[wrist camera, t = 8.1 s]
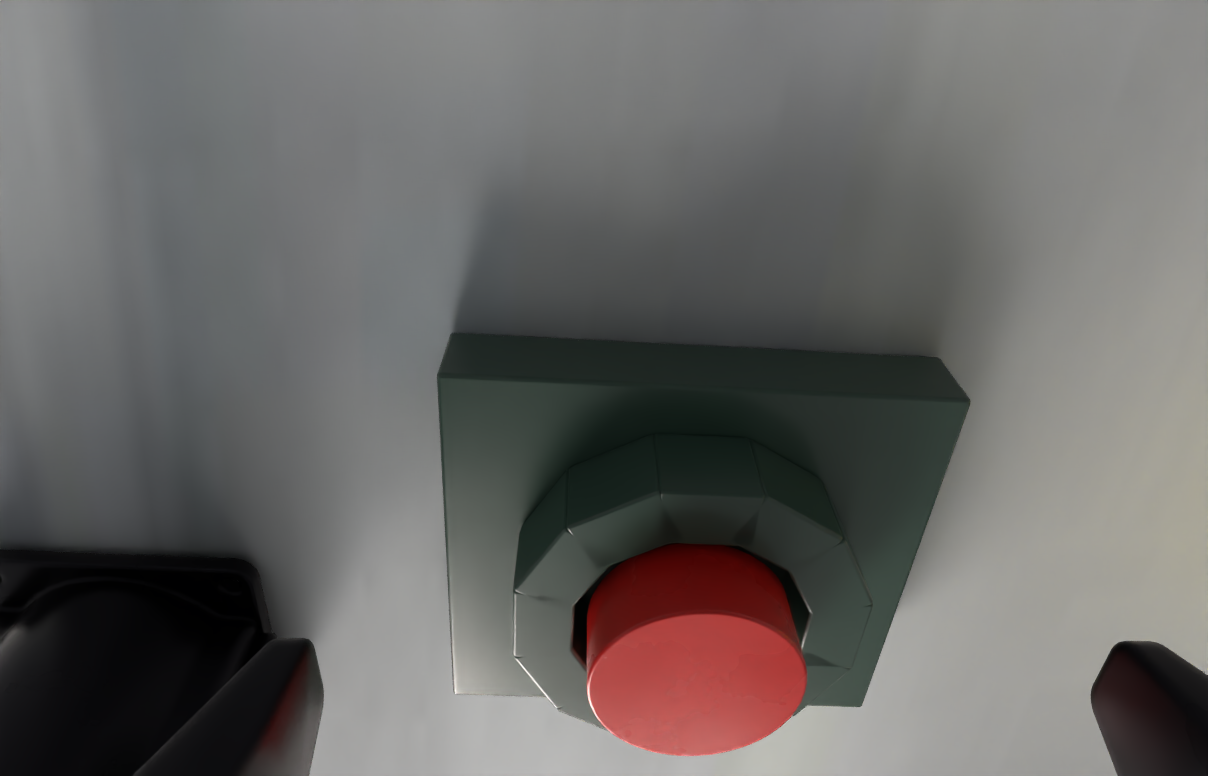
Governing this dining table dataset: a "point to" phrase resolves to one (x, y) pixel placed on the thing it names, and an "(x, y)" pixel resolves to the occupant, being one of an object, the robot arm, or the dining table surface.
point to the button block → (680, 491)
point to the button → (693, 651)
